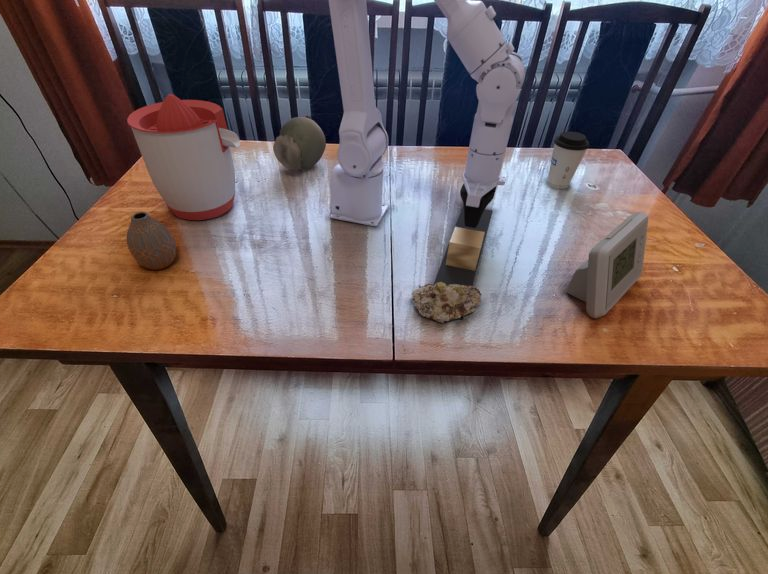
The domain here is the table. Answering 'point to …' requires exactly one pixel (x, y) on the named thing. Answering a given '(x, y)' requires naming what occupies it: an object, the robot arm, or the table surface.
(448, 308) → the mineral rock
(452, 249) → the maple block
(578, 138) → the coffee cup
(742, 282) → the table surface
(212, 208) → the citrus juicer
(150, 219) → the vase
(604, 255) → the digital clock
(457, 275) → the line stripe
